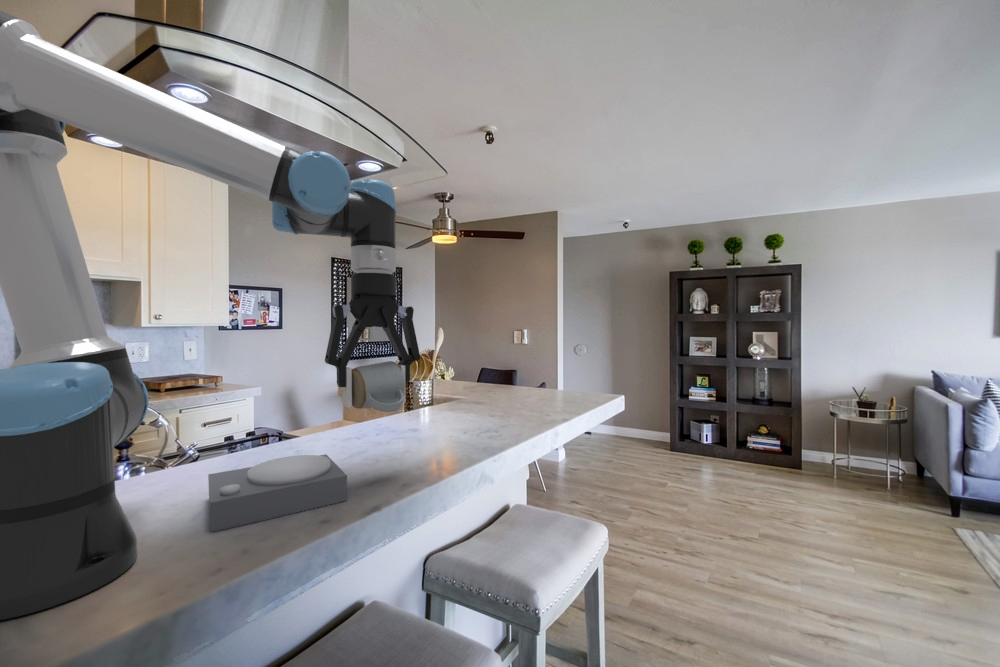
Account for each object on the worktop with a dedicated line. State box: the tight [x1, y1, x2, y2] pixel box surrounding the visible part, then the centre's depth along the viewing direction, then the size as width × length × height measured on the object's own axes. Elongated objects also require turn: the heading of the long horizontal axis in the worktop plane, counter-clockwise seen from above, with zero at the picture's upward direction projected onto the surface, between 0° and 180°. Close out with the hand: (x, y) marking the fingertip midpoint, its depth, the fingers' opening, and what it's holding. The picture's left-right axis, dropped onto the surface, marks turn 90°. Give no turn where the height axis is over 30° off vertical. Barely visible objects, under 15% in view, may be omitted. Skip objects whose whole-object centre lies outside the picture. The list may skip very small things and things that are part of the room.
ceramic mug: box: [352, 360, 406, 413], centre depth 78 cm, size 11×8×8 cm
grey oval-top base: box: [207, 453, 349, 533], centre depth 71 cm, size 18×14×5 cm
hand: (374, 403), depth 79 cm, fingers closed on ceramic mug, 9 cm apart
